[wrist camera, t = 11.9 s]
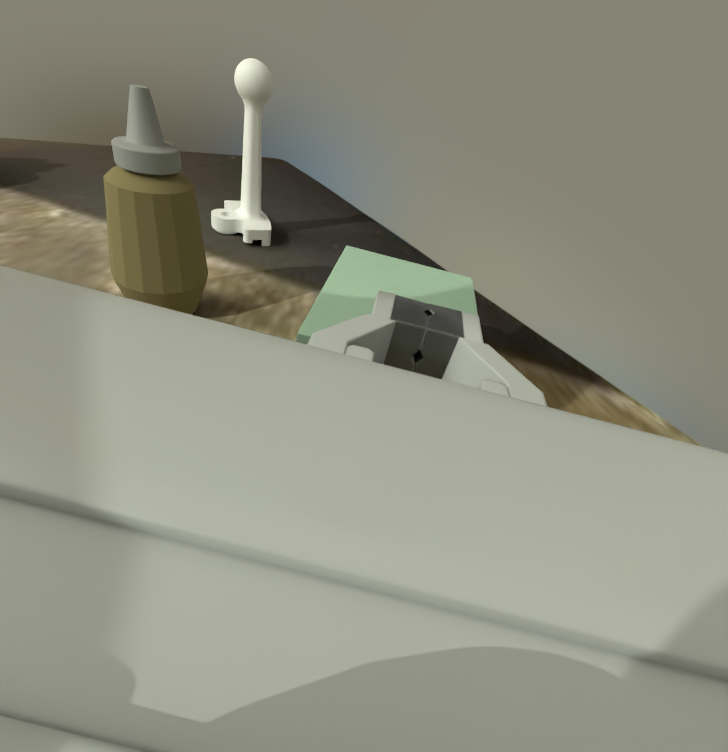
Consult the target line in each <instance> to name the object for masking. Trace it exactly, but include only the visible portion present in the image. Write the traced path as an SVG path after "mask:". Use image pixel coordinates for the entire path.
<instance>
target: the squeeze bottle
mask: <svg viewBox="0 0 728 752" xmlns="http://www.w3.org/2000/svg"><path fill="white" fill-rule="evenodd" d="M111 142H112V149H113V155H114V161H115V163H116V164H117V166H116V167H113V168H112V169H111V170H110V171H108V172H107V173H106V174H105V175H104V188H105V201H106V213H107V226H108V239H109V251H110V264H111V273H112V275H113V278H114V280H115V282H116V284H117V285H118V287H119V288H120V290H121V292H122V293H123V295H124V296H125V298H129V299H133V300H137V301H140V302H144V303H148V304H152V305H156V306H160V307H164V308H168V309H171V310H175V311H179V312H183V313H187V314H192V313H194V312H195V311H196V310H197V307H198V304H199V301H200V298H201V295H202V293H203V290H204V287H205V284H206V281H207V276H208V269H207V263H206V257H205V250H204V244H203V237H202V231H201V225H200V218H199V212H198V206H197V199H196V193H195V187H194V184H193V183H192V182H191V181H190V180H189V179H188V178H187V177H186V176H185V175H184V174H182V173H180V170H181V160H180V149H179V148H178V147H177V146H176V145H174V144H172V143H170V142H167V141H164V138H163V134H162V131H161V128H160V124H159V121H158V118H157V114H156V111H155V108H154V104H153V101H152V97H151V94H150V91H149V88H148V87H145V86H141V85H135V84H131V85H130V92H129V107H128V121H127V134H126V136H120V137H115V138H114V139H113V140H112V141H111Z"/></svg>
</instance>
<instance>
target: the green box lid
mask: <svg viewBox="0 0 728 752" xmlns="http://www.w3.org/2000/svg"><path fill="white" fill-rule="evenodd" d="M379 290H380V291H384V292H389V293H393V294H395V295H399V296H402V297H406V298H409V299H413V300H417V301H420V302H424V303H427V304H433V305H437V306H441V307H446V308H450V309H454V310H458V311H462V312H465V313H469V314H474V315H477V316H478V314H477V307H476V301H475V294H474V287H473V281H472V278H469V277H466V276H462V275H457V274H454V273H450V272H446V271H443V270H439V269H435V268H431V267H427V266H423V265H420V264H416V263H412V262H408V261H404V260H400V259H396V258H393V257H389V256H385V255H381V254H377V253H373V252H370V251H366V250H362V249H358V248H354V247H350V246H346V247H345V249H344V251H343V253H342V254H341V256H340V258H339V260H338V262H337V263H336V265H335V267H334V269H333V270H332V272H331V274H330V276H329V278H328V279H327V281H326V283H325V285H324V287H323V288H322V290H321V292H320V294H319V295H318V297H317V299H316V301H315V303H314V304H313V306H312V308H311V310H310V311H309V313H308V315H307V317H306V319H305V320H304V322H303V324H302V326H301V327H300V329H299V331H298V333H297V340H296V342H299V343H303V344H308V342H309V340H310V338H311V336H312V334H313V333H314V332H317V331H320V330H322V329H325V328H328V327H331V326H333V325H336V324H339V323H342V322H344V321H347V320H350V319H353V318H355V317H358V316H361V315H364V314H366V313H368V314H372V311H373V307H374V304H375V300H376V297H377V293H378V291H379Z"/></svg>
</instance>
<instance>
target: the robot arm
mask: <svg viewBox="0 0 728 752" xmlns="http://www.w3.org/2000/svg"><path fill="white" fill-rule="evenodd" d="M0 752H728V453H725V452H720V451H716V450H713V449H709V448H705V447H702V446H698V445H694V444H690V443H686V442H682V441H678V440H674V439H671V438H667V437H663V436H659V435H655V434H651V433H647V432H644V431H640V430H636V429H632V428H628V427H624V426H620V425H616V424H613V423H609V422H605V421H601V420H597V419H593V418H589V417H585V416H582V415H578V414H574V413H570V412H566V411H562V410H558V409H554V408H551V407H548V406H547V403H546V400H545V397H544V394H543V392H542V391H540V390H539V389H538V388H537V387H536V386H535V385H534V384H532V383H531V382H530V381H529V380H528V379H527V378H526V377H525V376H523V375H522V374H521V373H520V372H519V371H518V370H517V369H516V368H514V367H513V366H512V365H511V364H510V363H509V362H508V361H506V360H505V359H504V358H503V357H502V356H501V355H500V354H499V353H497V352H496V351H495V350H494V349H493V348H492V347H491V346H489V345H488V344H484V342H483V337H482V331H481V326H480V320H479V316H477V315H474V314H469V313H465V312H462V311H458V310H454V309H450V308H446V307H441V306H437V305H433V304H427V303H424V302H420V301H417V300H413V299H409V298H406V297H402V296H399V295H395V294H393V293H389V292H384V291H380V290H379V291H378V293H377V297H376V300H375V304H374V307H373V311H372V314H368V313H366V314H364V315H361V316H358V317H355V318H353V319H350V320H347V321H344V322H342V323H339V324H336V325H333V326H331V327H328V328H325V329H322V330H320V331H317V332H314V333H313V334H312V336H311V338H310V340H309V342H308V344H303V343H299V342H295V341H291V340H288V339H284V338H280V337H276V336H272V335H268V334H264V333H261V332H257V331H253V330H249V329H245V328H241V327H237V326H233V325H230V324H226V323H222V322H218V321H214V320H210V319H206V318H202V317H199V316H195V315H191V314H187V313H183V312H179V311H175V310H171V309H168V308H164V307H160V306H156V305H152V304H148V303H144V302H140V301H137V300H133V299H129V298H125V297H121V296H117V295H113V294H109V293H106V292H102V291H98V290H94V289H90V288H86V287H82V286H78V285H75V284H71V283H67V282H63V281H59V280H55V279H51V278H47V277H44V276H40V275H36V274H32V273H28V272H24V271H20V270H16V269H13V268H9V267H5V266H1V265H0Z"/></svg>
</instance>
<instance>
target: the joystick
mask: <svg viewBox="0 0 728 752" xmlns="http://www.w3.org/2000/svg"><path fill="white" fill-rule="evenodd" d="M234 80H235V85H236V89H237V91H238V93H239V94H240V96H241V98H242V99H243V102H244V106H245V115H244V139H243V162H242V185H241V201H228V200H227V201H224V209H215V210H212V211H211V222H212V227H213V228H214V229H215V230H216V231H217V232H220V233H223V234H236V233H238V232H239V233H242V234H243V241H244V242H246V243H252V242H253V240H262V246H270V242H271V223H270V221H269V219H268V217H267V216H266V215H265V214H264V213H263V212H262V211H261V150H262V147H261V146H262V141H261V140H262V139H261V138H262V109H263V106H264V104H265V103H266V102H267V100H268V99H269V98H270V97H271V94H272V91H273V79H272V76H271V73H270V71H269V69H268V68H267V67H266V66H265V64H263V63H262V62H261V61H259V60H257V59H253V58H249V59H245V60H243V61H242V62H240V63H239V65H238V66H237V68H236V71H235V76H234Z"/></svg>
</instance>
